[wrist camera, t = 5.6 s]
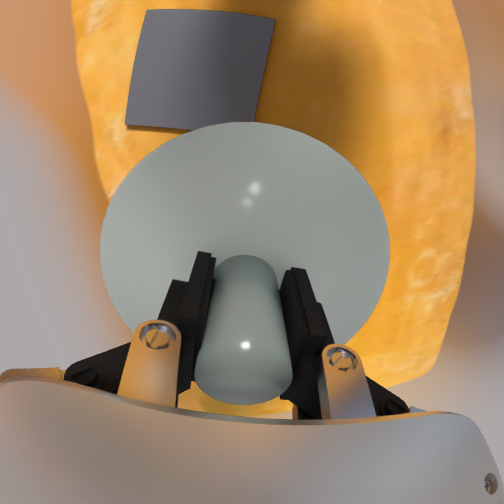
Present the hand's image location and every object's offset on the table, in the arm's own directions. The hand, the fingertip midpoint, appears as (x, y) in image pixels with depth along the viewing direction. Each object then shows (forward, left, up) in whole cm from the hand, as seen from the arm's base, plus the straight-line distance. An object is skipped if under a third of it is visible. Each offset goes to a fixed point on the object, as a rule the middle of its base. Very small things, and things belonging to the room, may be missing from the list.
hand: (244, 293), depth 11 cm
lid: (0, 0, -1) cm, 1 cm away
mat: (-11, -7, -22) cm, 25 cm away
